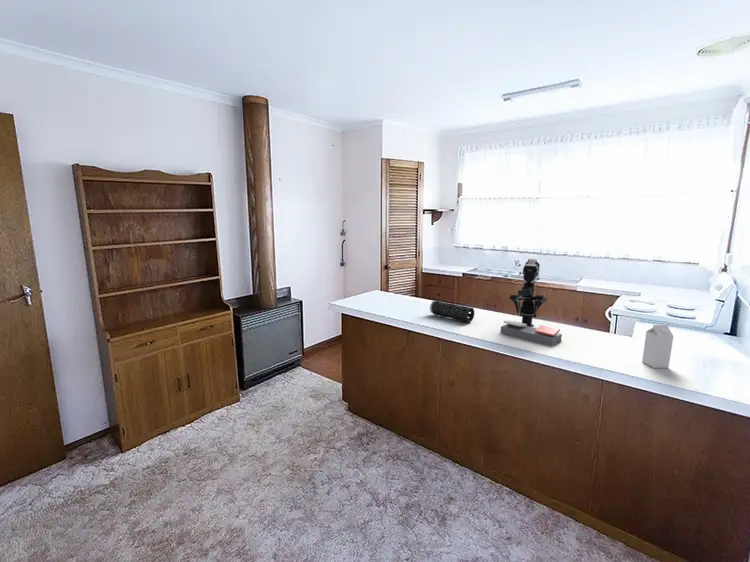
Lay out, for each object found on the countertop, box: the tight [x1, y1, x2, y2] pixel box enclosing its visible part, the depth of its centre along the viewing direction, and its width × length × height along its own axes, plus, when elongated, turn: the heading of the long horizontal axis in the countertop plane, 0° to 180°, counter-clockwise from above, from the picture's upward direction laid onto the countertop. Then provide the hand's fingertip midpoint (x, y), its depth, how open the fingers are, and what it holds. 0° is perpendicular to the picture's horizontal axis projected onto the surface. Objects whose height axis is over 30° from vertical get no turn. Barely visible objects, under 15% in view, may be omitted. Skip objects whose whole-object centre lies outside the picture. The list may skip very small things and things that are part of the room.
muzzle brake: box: [429, 300, 475, 324], centre depth 248 cm, size 10×28×10 cm, turn 47°
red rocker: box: [535, 324, 561, 337], centre depth 207 cm, size 8×10×1 cm
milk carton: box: [641, 324, 674, 369], centre depth 174 cm, size 7×7×19 cm
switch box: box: [500, 323, 563, 347], centre depth 214 cm, size 12×29×5 cm, turn 44°
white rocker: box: [503, 320, 527, 327], centre depth 219 cm, size 8×10×1 cm
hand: (526, 313), depth 212 cm, fingers open, 9 cm apart
